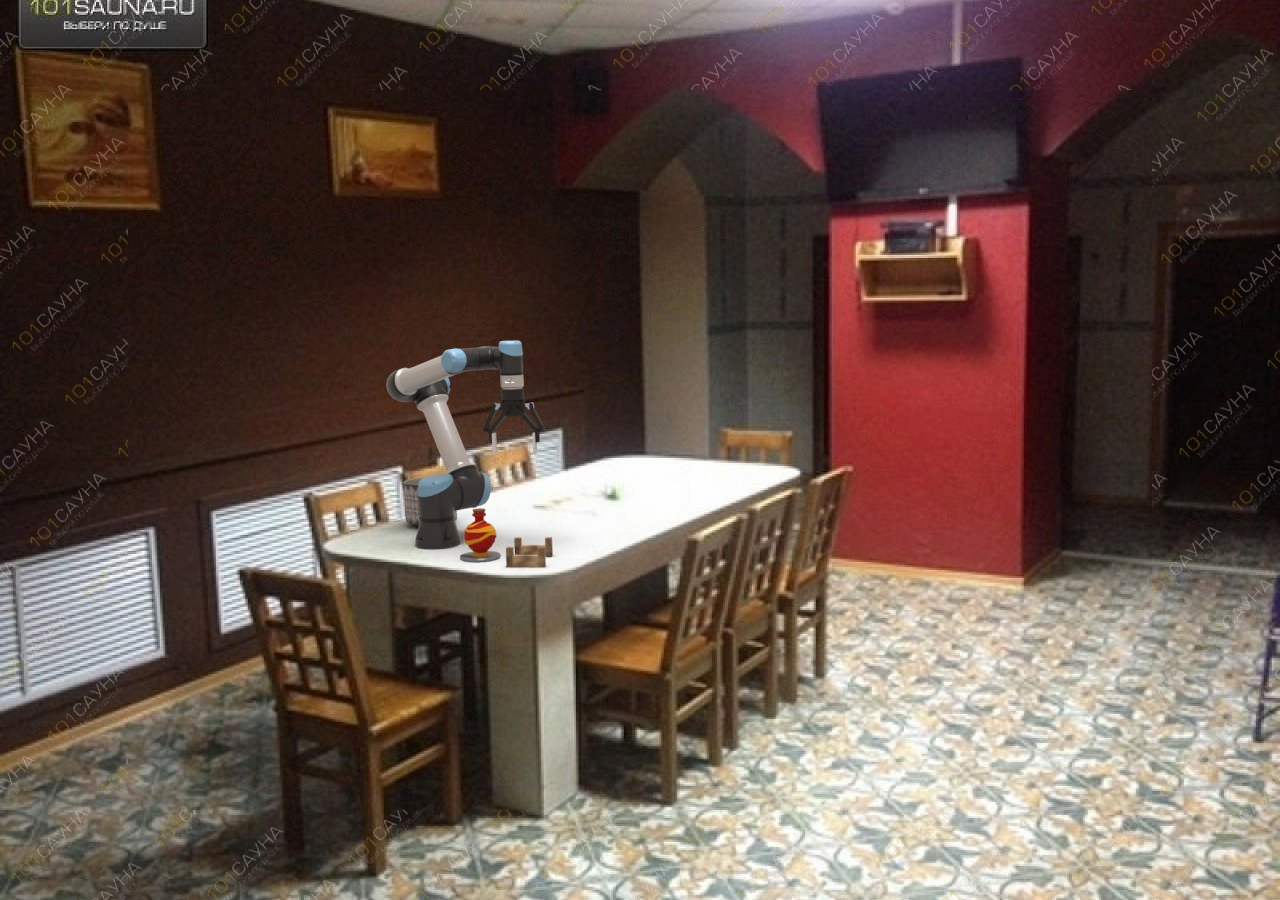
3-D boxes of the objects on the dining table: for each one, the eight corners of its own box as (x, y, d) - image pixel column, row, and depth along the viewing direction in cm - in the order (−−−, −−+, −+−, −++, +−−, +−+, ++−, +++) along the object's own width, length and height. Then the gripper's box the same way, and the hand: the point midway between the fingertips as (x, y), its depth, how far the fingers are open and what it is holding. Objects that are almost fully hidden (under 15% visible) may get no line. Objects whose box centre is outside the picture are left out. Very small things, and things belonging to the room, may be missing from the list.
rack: (506, 567, 362) (505, 548, 361) (515, 555, 378) (515, 537, 377) (544, 567, 361) (544, 548, 360) (552, 555, 377) (552, 537, 376)
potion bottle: (479, 560, 368) (477, 513, 366) (458, 556, 375) (456, 510, 373) (504, 554, 376) (502, 508, 374) (482, 550, 383) (481, 505, 381)
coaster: (455, 562, 370) (455, 560, 370) (465, 553, 382) (465, 550, 382) (496, 562, 369) (496, 559, 368) (504, 553, 381) (504, 550, 381)
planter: (458, 528, 423) (456, 483, 421) (404, 531, 420) (402, 486, 418) (457, 518, 442) (456, 475, 440) (406, 521, 439) (404, 477, 437)
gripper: (472, 389, 379) (475, 454, 382) (547, 388, 376) (549, 453, 379) (478, 387, 387) (481, 451, 389) (552, 386, 383) (554, 450, 386)
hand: (514, 452), depth 384 cm, fingers open, 13 cm apart
